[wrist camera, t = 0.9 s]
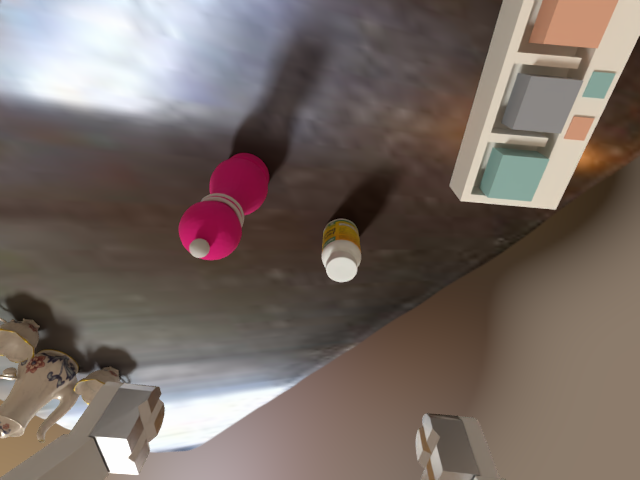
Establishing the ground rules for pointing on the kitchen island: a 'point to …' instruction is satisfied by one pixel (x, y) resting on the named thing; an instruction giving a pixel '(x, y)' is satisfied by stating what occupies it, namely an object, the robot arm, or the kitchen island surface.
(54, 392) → the chinaware
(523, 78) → the slate key
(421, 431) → the robot arm
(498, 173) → the teal key
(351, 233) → the supplement bottle
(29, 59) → the kitchen island surface
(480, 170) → the three-slot colour tray
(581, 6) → the terracotta key
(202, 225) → the pepper mill
